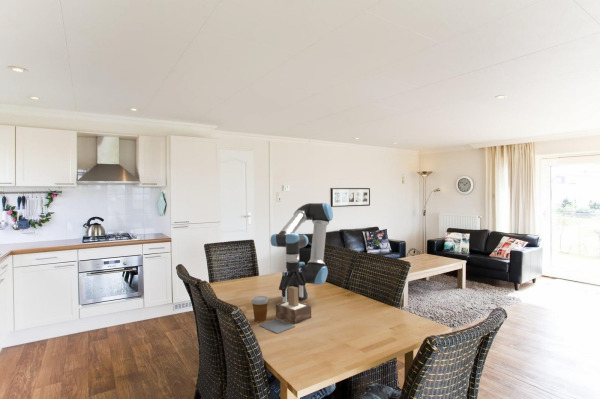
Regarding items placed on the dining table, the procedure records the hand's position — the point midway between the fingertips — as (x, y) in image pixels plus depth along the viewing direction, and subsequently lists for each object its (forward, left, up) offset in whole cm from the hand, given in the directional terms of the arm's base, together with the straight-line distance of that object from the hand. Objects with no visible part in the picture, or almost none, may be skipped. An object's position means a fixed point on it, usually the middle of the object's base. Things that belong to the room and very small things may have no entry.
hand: (293, 299), depth 186 cm
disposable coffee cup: (+15, -11, -10) cm, 21 cm away
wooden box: (0, 0, -10) cm, 10 cm away
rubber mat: (+15, +3, -10) cm, 18 cm away
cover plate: (0, 0, -4) cm, 4 cm away
